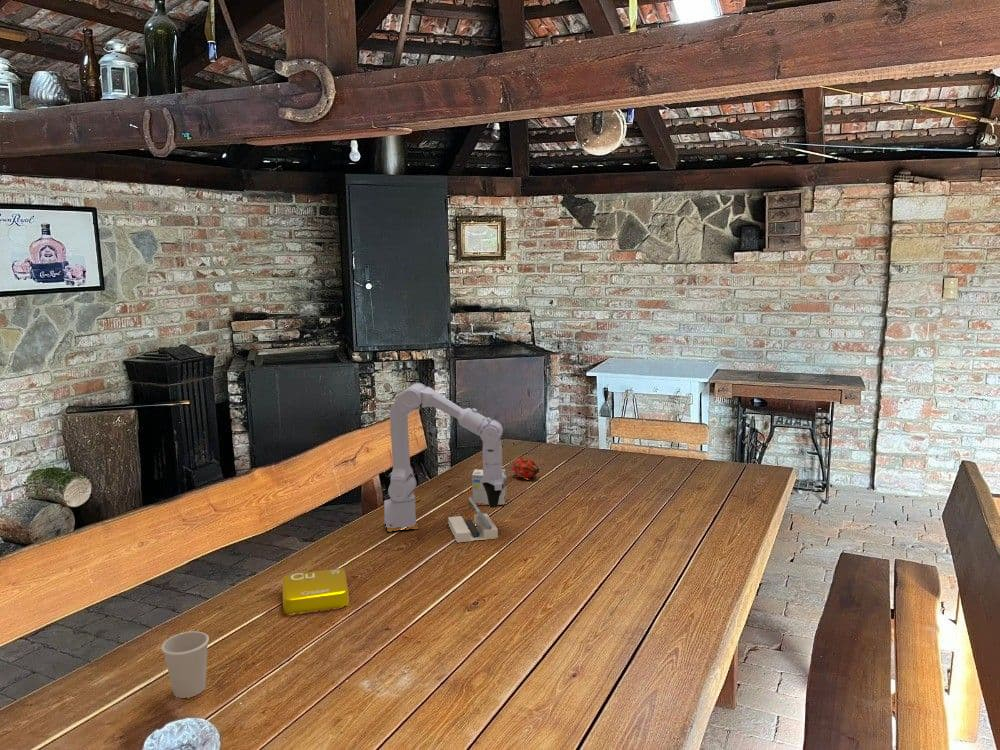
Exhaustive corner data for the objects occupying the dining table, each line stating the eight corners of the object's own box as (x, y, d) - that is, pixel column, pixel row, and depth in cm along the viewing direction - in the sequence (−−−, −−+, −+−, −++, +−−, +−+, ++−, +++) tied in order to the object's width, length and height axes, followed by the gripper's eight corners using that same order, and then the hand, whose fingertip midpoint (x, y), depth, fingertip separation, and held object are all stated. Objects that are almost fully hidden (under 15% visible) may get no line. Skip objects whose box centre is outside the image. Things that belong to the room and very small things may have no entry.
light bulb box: (506, 499, 252) (506, 468, 250) (504, 506, 245) (504, 474, 244) (474, 499, 253) (474, 468, 251) (472, 506, 246) (471, 474, 245)
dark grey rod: (471, 533, 217) (477, 529, 217) (464, 522, 226) (469, 518, 227) (475, 538, 217) (480, 534, 218) (468, 527, 227) (473, 523, 227)
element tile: (283, 618, 173) (282, 598, 172) (284, 591, 187) (282, 572, 186) (349, 609, 177) (348, 589, 176) (345, 582, 191) (344, 565, 190)
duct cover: (477, 512, 215) (480, 510, 215) (468, 498, 227) (470, 496, 228) (489, 529, 217) (492, 527, 217) (480, 514, 229) (482, 513, 229)
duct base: (457, 543, 214) (456, 533, 214) (448, 526, 228) (448, 517, 227) (497, 539, 217) (497, 529, 217) (487, 522, 231) (486, 513, 230)
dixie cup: (219, 677, 148) (215, 630, 147) (204, 702, 140) (199, 652, 138) (176, 678, 148) (171, 631, 146) (158, 703, 140) (153, 654, 138)
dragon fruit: (515, 477, 281) (536, 489, 273) (502, 469, 276) (523, 480, 267) (526, 458, 283) (548, 469, 274) (513, 449, 277) (535, 460, 268)
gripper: (511, 467, 215) (512, 513, 217) (499, 454, 229) (500, 497, 231) (487, 469, 213) (488, 515, 215) (477, 456, 227) (478, 500, 229)
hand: (493, 506), depth 223 cm, fingers closed
